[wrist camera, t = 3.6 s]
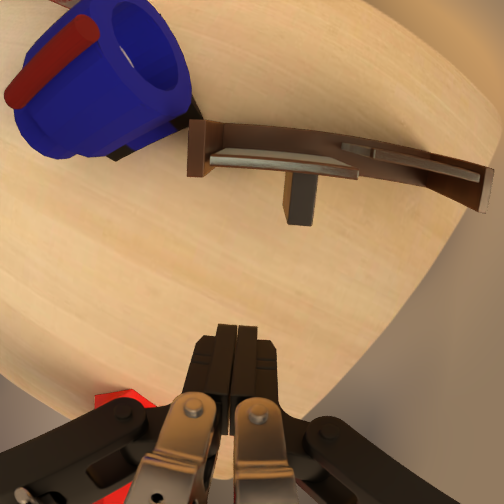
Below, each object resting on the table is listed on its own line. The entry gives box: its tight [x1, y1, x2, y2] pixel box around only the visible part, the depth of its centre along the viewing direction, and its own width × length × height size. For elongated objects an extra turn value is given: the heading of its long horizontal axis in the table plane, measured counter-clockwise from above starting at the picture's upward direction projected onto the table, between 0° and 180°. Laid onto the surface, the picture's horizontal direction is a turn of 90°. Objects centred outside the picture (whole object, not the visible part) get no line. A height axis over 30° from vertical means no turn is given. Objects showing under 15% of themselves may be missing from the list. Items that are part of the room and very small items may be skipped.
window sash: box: [210, 148, 359, 226], centre depth 21 cm, size 4×9×8 cm, turn 86°
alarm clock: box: [4, 0, 204, 162], centre depth 17 cm, size 12×12×15 cm
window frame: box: [187, 120, 494, 214], centre depth 21 cm, size 3×21×10 cm, turn 86°
